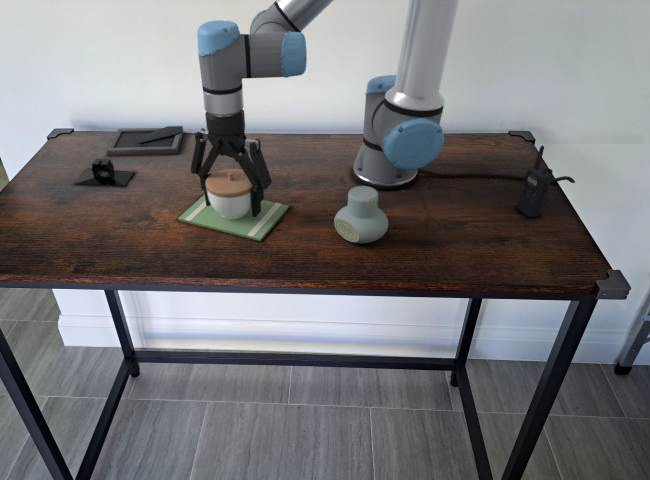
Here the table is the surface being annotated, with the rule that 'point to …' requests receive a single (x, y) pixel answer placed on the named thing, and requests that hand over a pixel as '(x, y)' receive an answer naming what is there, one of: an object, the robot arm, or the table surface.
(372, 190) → the air freshener
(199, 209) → the towel
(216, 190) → the trinket box
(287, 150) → the table surface
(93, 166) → the black mounting bracket
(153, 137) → the picture frame
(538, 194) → the two-way radio
